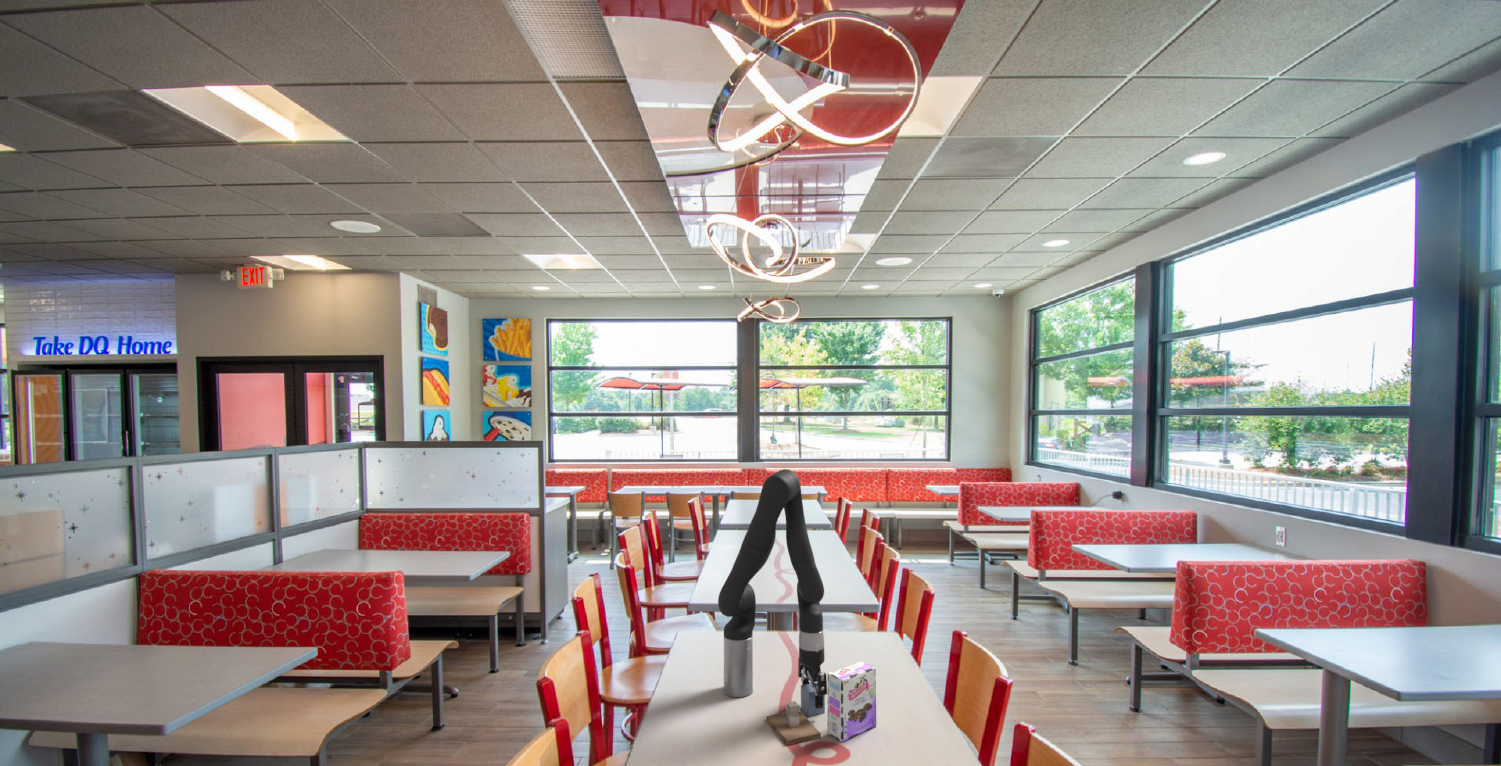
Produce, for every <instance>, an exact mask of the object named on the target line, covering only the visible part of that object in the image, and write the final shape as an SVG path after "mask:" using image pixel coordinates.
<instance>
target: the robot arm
mask: <svg viewBox="0 0 1501 766" xmlns="http://www.w3.org/2000/svg"><path fill="white" fill-rule="evenodd" d="M800 481H801V480H800V479H799V477H798V474H797V473H795V472H794V471H792V470H791V469H787V468H784V469H780V470H778V471H776V472H775V473H773V474H770V475H769V476H768V477H767V478H766V479H765V480H764V482H763V485H762V489H761V491H760V495H759V499H758V503H757V506H756V510H755V512H754V515H753V516H752V519H751V521H750V524H749V525H748V528H747V531H746V533H745V536H744V538H743V540H742V543H741V545H740V549H739V551H738V554H737V556H736V559H735V561H734V562H733V565H732V568H731V570H730V572H729V574H728V576H727V578H726V580H725V582H724V583H723V585H722V587H721V589H720V591H719V595H718V599H717V601H718V602H717V603H718V605H717V606H718V609H719V611H720V613H721V614H722V615H723V616H725V617H727V618H730V617H731V619H730V620H729V621H728V622H727V623H726V624H725V625H724V627H723V692H724V694H725V695H726V696H729V697H732V698H743V697H747V696H749V695H751V694H752V693H753V692H754V689H753V688H754V682H753V679H754V675H753V674H754V671H753V669H754V666H753V663H754V662H753V661H754V660H753V659H754V655H753V654H754V651H753V650H754V649H753V646H754V645H753V644H754V643H753V642H754V641H753V635H754V634H753V631H754V628H755V625H756V612H757V611H756V610H757V609H756V607H757V605H756V604H757V601H756V600H757V599H756V593H755V589H754V588H753V586H752V585H751V584H749V583H750V582H751V581H752V579H753V578H754V577H755V576H756V575H757V574H758V572H760V570H762V568H763V567H764V566H765V564H766V563H767V561H768V559H769V557H770V555H771V553H772V550H773V548H774V546H775V542H776V532H777V530H776V529H777V528H776V527H777V522H778V520H779V517H780V516H781V513H782V511H783V510H784V514H785V540H786V548H787V551H788V556H789V560H790V563H791V566H792V568H793V570H794V572H795V574H796V577H797V584H796V595H797V602H798V609H799V610H798V611H799V612H798V613H799V620H798V621H799V622H798V623H799V625H798V626H799V629H798V631H799V632H798V667H797V669H798V670H797V673H798V675H797V676H798V678H800V681H801V683H802V684H801V685H805V684H810V683H811V686H812V687H813V688H814V691H815V707H816V708H817V709H819V708H822V707H823V695H825V696H828V677H827V673H826V672H822V670H821V665H822V664H824V662H825V635H824V618H823V617H824V616H823V612H822V609H821V604H820V602H821V601H822V599H824V595H825V588H824V587H825V586H824V584H823V580H822V577H821V574H820V572H819V569H818V567H817V564H816V561H815V556H814V552H813V549H812V545H811V542H810V538H809V535H808V529H807V525H806V524H807V523H806V518H805V513H804V512H805V511H804V506H803V505H804V504H803V496H802V495H803V494H802V490H801V489H802V487H801V482H800ZM815 682H816V683H815ZM817 688H818V691H817Z"/></svg>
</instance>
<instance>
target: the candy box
mask: <svg viewBox="0 0 1501 766" xmlns="http://www.w3.org/2000/svg"><path fill="white" fill-rule="evenodd" d="M876 681H877V679H876V667H875V666H873V665H870V664H868V663H865V662H863V661H859V662H857V663H854V664H851V665H848V666H844V667H842V668H840V669H839V668H838V669H837V670H834V671H831V672H827V734H829V735H830V736H832V737H833V738H835V739H836V740H838V741H840V742H841V743H842V742H845V741H848V740H850V739H852V738H854V737H856V736H859V735H861V734H863V733H866V732H867V731H870V730H872V729H874V728H877V689H876V688H877V686H876V685H877V684H876Z"/></svg>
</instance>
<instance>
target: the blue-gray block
mask: <svg viewBox="0 0 1501 766" xmlns="http://www.w3.org/2000/svg"><path fill="white" fill-rule="evenodd" d="M814 683H817V682H814ZM817 691H818V688H817ZM825 700H826V695H823V707H822V708H819V709H817V708H816V707H815V691H814V688H813V687H812V686H811V683H810V684H805V685H802V684H801V685H800V709H801V710H803V712H804V713H805V714H806V715H807V716H808V717H811V716H815V715H821V714H825V713H826V709H825V708H826V707H825V704H826V701H825Z"/></svg>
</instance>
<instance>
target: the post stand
mask: <svg viewBox="0 0 1501 766" xmlns="http://www.w3.org/2000/svg"><path fill="white" fill-rule="evenodd" d="M785 703H786V709H785V710H786V711H784V712H778V713H774V714H769V715H766V718H765V719H766V720H765V721H767V723H768V724H769V725H770V726H771V728H772V729H773V730H774V731H775V732H776V734H778V736H779V737H780V738H781V739H782V740H783V742H784V743H785V745H787V746H790V745H794V744H799V743H803V742H807V741H811V740H817V739H821V737H822V736H821V735H822V733H821V732H820V730H818V729H817V727H816V726H815V725H814V724H812V722H811V721H810V720H809V719H808V718H807V717H806V716H805V715H804V714H803V713H802V712H801V711H800V705H799V704H798V702H796V701H795V700H793V701H789V702H788V701H787V702H785ZM816 738H817V739H816Z"/></svg>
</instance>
